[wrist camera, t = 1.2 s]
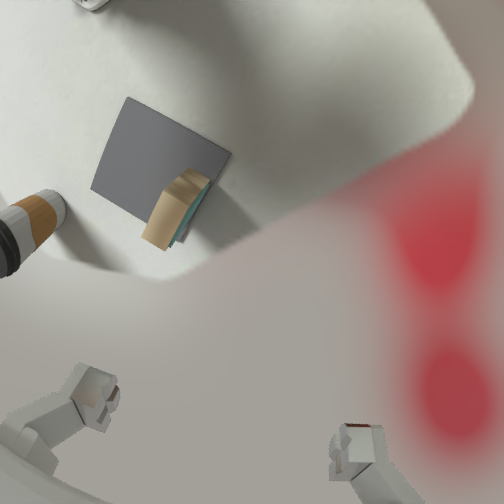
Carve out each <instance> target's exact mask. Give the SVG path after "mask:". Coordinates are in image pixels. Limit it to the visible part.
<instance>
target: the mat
mask: <svg viewBox="0 0 504 504" xmlns="http://www.w3.org/2000/svg"><path fill="white" fill-rule="evenodd" d="M230 154H231V153H230V152H228V151H226V150H224V149H223V148H221V147H219V146H218V145H216V144H214V143H213V142H211V141H209V140H207V139H206V138H204V137H202V136H200V135H199V134H197V133H195V132H193V131H192V130H190V129H188V128H186V127H184V126H183V125H181V124H179V123H177V122H175V121H174V120H172V119H170V118H168V117H166V116H164V115H163V114H161V113H159V112H157V111H155V110H153V109H151V108H149V107H148V106H146V105H144V104H142V103H140V102H138V101H136V100H134V99H132V98H130V97H127V98H126V100H125V102H124V105H123V107H122V109H121V111H120V113H119V116H118V118H117V120H116V123H115V125H114V127H113V130H112V132H111V134H110V137H109V139H108V142H107V144H106V147H105V149H104V152H103V155H102V157H101V160H100V163H99V165H98V168H97V171H96V174H95V176H94V179H93V182H92V185H91V188H90V189H91V190H93V191H95V192H96V193H98V194H100V195H101V196H103V197H104V198H106V199H108V200H109V201H111V202H113V203H114V204H116V205H118V206H119V207H121V208H122V209H124V210H126V211H127V212H129V213H131V214H132V215H134V216H136V217H137V218H139V219H141V220H142V221H144V222H146V223H148V221H149V219H150V217H151V214H152V212H153V210H154V208H155V206H156V204H157V202H158V200H159V198H160V196H161V194H162V192H163V190H164V189H165V188H166V187H167V186H169V185H170V184H171V183H172V182H173V181H174V180H175V179H176V178H178V177H179V176H180V175H181V174H182V173H183V172H184V171H185V170H187V169H188V168H189V167H190V168H192V169H193V170H195V171H197V172H198V173H200V174H202V175H203V176H205V177H207V178H209V179H210V181H209V183H208V184H210V185H209V187H208V189H207V191H206V192H205V194H204V196H203V197H202V199H201V201H200V203H199V204H198V206H197V208H196V210H195V211H194V213H193V215H192V217H191V218H190V220H189V221H188V223H187V224H186V226H185V227H184V229H183V230H182V232H181V233H180V234H179V236H178V237H177V239H176V241H178V242H180V240H181V238H182V236H183V235H184V233H185V231H186V229H187V227H188V226H189V224H190V222H191V220H192V219H193V217H194V215H195V213H196V212H197V210H198V208H199V206H200V205H201V203H202V201H203V199H204V198H205V196H206V194H207V193H208V191H209V189H210V188H211V186H212V184H213V182H214V181H215V179H216V177H217V176H218V174H219V172H220V171H221V169H222V168H223V166H224V164H225V163H226V161H227V159H228V158H229V156H230Z"/></svg>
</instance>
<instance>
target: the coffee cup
mask: <svg viewBox="0 0 504 504" xmlns="http://www.w3.org/2000/svg"><path fill="white" fill-rule="evenodd" d="M65 216H66V206H65V203H64V201H63V199H62V197H61V196H60V195H59V194H58V193H57V192H55V191H54V190H48V189H46V190H42V191H40V192H38V193H36V194H34V195H31V196H29V197H27V198H25V199H23V200H21V201H19V202H17V203H15V204H13V205H11V206H9V207H8V208H7V209H4V210H3V211H1V212H0V278H3V277H5V276H7V277H8V276H10V275H12V274H13V273H14V272H16V271H17V270H18V269H19V267H20V265H21V264H22V263H23V262H24V261H25V260H26V259H27V258H28V257H29V256H30V255H31V253H33V252H34V251H35V250H36V249H37V248H38V247H39V246H40V245H41V244H42V243H43V242H44V241H45V240H46V239H47V238H48V237H49V236H50V235H51V234H52V233H53V232H54V231H55V230H56V229H57V228H58V227H59V226H60V225H61V224H62V223H63V221H64V219H65Z"/></svg>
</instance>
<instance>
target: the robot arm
mask: <svg viewBox="0 0 504 504" xmlns="http://www.w3.org/2000/svg"><path fill="white" fill-rule="evenodd" d="M73 1H75V2H76V3H78V4H80V5H81V6H83V7H84V8H86V9H88V10H91V11H93V10H96V9H98V8H99V7H101V6H102V5H103V4H105V3H106V2H107V1H109V0H88V1H87V0H73ZM116 383H117V377H116V376H115V375H112V374H110V373H107V372H104V371H101V370H98V369H96V368H93V367H92V366H89V365H86V364H84V363H81V362H79V363H77V364H76V365H75V366H74V368H73V370H72V371H71V373H70V374H69V376H68V377H67V379H66V380H65V382H64V383H63V385H62V386H61V388H60V390H59V391H58V393H56V392H53V393H51V394H48V395H46V396H44V397H42V398H40V399H38V400H36V401H34V402H32V403H29V404H27V405H25V406H23V407H21V408H19V409H17V410H14V411H12V412H10V413H8V414H7V416H6V418H5V419H4V421H3V422H2V424H1V426H0V504H111V503H109V502H107V501H104V500H102V499H99V498H97V497H95V496H93V495H90V494H88V493H86V492H84V491H81V490H79V489H77V488H75V487H73V486H71V485H69V484H67V483H65V482H63V481H61V480H59V479H57V478H55V477H54V476H53V474H54V471H55V469H56V467H57V465H58V463H59V461H58V458H57V457H56V456H55V455H54V454H53V452H52V451H51V450H50V449H52V448H53V447H55V446H57V445H58V444H60V443H61V442H63V441H64V440H66V439H67V438H69V437H70V436H72V435H73V434H75V433H76V432H78V431H79V430H81V429H82V428H84V427H85V426H87V427H90V428H92V429H95V430H98V431H100V432H103V433H105V431H106V429H107V427H108V425H109V423H110V421H111V418H110V413H112V412H114V411H115V410H116V408H117V406H118V403H119V399H120V389H119V388H118V386H117V385H116ZM84 425H85V426H84ZM329 456H330V457H331V459H332V460H333V461H332V463H331V464H330V465H329V480H330V481H351V482H350V484H351V485H352V487H353V489H354V490H355V492H356V493H357V495H358V497H359V498H360V500H361V502H362V503H363V504H425V501H424V500H423V499H422V498H421V496H420V495H419V494H418V493H417V492H416V490H415V489H414V488H413V487H412V486H411V485H410V483H409V482H408V481H407V480H406V479H405V477H404V476H403V475H402V474H401V473H400V472H399V470H398V469H397V468H396V467H395V465H394V464H393V463H389V460H388V453H387V446H386V440H385V433H384V428H383V426H381V425H368V424H347V423H344V424H342V425H341V426H340V428H339V432H337V433H335V434H334V435H333V437H332V438H331V441H330V445H329Z"/></svg>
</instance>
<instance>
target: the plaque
mask: <svg viewBox="0 0 504 504" xmlns="http://www.w3.org/2000/svg"><path fill="white" fill-rule="evenodd" d="M209 181H210V179H209V178H207V177H205V176H203V175H202V174H200V173H198V172H197V171H195V170H193V169H192V168H190V167H189V168H188V169H187V170H185V171H184V172H183V173H182V174H181V175H180V176H179V177H178V178H176V179H175V180H174V181H173V182H172V183H171V184H170V185H169V186H167V187H166V188H165V189H164V190H163V192H162V194H161V196H160V198H159V200H158V202H157V204H156V206H155V208H154V210H153V212H152V214H151V217H150V219H149V221H148V223H147V225H146V227H145V230H144V232H143V234H142V236H141V237H142V238H143V239H145V240H147V241H148V242H150V243H152V244H153V245H155V246H157V247H158V248H160V249H162V250H163V251H166V249H167V248H168V247H170V248H171V246H172V245H173V243H174V242H175V240H176V239H177V237H178V236H179V234H180V233H181V232H182V230H183V229H184V227H185V226H186V224H187V223H188V221H189V220H190V218H191V217H192V215H193V213H194V211H195V210H196V208H197V206H198V204H199V203H200V201H201V199H202V197H203V196H204V194H205V192H206V191H207V189H208V187H209V185H210V184H208V183H209Z"/></svg>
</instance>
